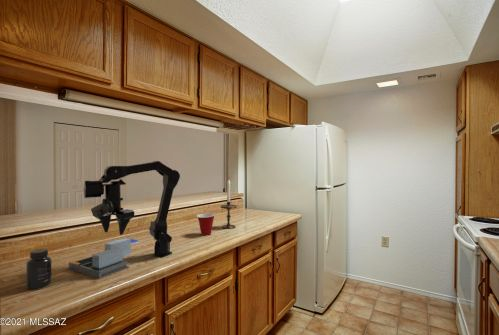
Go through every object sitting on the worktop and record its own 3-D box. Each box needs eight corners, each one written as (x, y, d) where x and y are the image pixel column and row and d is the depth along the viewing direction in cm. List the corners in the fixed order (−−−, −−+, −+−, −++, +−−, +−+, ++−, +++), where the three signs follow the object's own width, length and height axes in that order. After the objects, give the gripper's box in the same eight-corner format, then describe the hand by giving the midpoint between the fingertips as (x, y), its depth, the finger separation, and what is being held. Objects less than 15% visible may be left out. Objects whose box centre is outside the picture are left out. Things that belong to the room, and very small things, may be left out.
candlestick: (237, 228, 176) (238, 175, 176) (221, 229, 174) (221, 175, 174) (235, 225, 187) (235, 174, 187) (219, 225, 185) (219, 174, 184)
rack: (98, 259, 119) (98, 242, 119) (129, 267, 109) (129, 249, 109) (67, 268, 108) (67, 249, 107) (99, 278, 98) (99, 258, 98)
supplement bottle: (21, 288, 90) (21, 252, 90) (43, 280, 97) (43, 246, 97) (34, 291, 88) (34, 254, 88) (56, 283, 94) (56, 248, 94)
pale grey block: (124, 253, 127) (124, 238, 127) (130, 254, 125) (130, 239, 125) (104, 259, 118) (104, 243, 118) (110, 261, 117) (110, 244, 116)
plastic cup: (195, 232, 166) (195, 213, 165) (213, 231, 169) (213, 212, 169) (197, 237, 155) (197, 216, 155) (216, 235, 159) (216, 215, 158)
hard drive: (116, 246, 134) (138, 240, 144) (107, 243, 138) (129, 238, 149) (116, 249, 134) (138, 243, 144) (107, 246, 138) (129, 241, 149)
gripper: (79, 197, 109) (80, 235, 110) (110, 199, 101) (111, 241, 101) (104, 194, 119) (105, 229, 120) (135, 196, 111) (135, 234, 111)
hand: (113, 233), depth 113 cm, fingers open, 9 cm apart
